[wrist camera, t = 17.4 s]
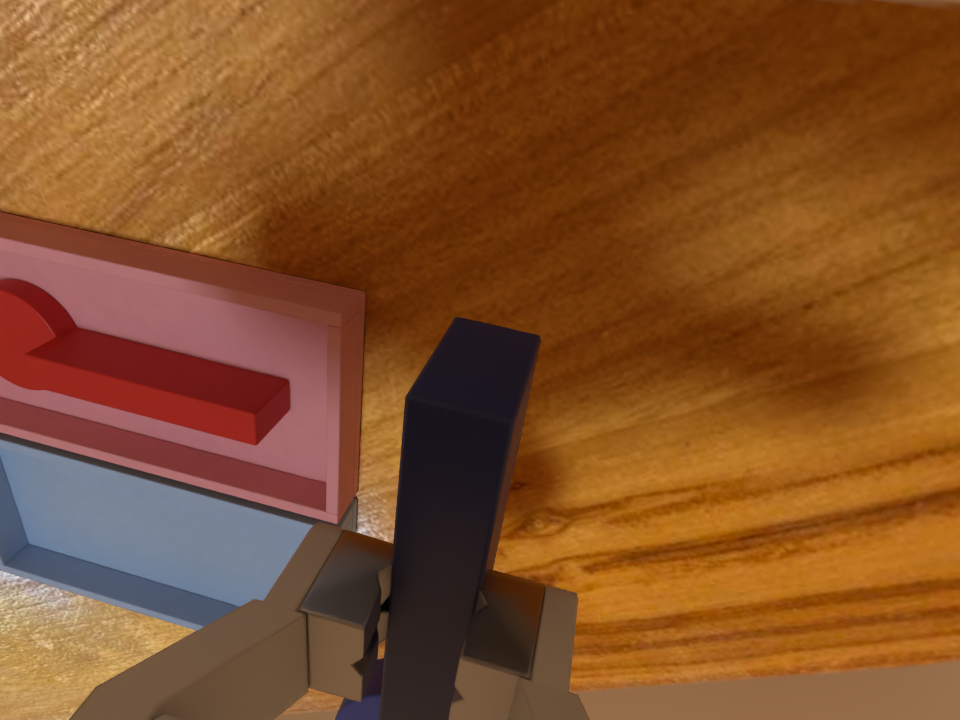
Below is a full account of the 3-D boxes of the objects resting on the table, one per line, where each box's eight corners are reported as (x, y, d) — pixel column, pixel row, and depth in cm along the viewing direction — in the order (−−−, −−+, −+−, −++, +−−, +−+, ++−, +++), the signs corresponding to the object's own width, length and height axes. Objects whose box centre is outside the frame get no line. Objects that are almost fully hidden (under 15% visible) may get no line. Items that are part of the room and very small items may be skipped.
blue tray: (-16, 399, 27) (-59, 423, 26) (357, 498, 25) (337, 532, 23) (31, 541, 32) (-4, 570, 30) (352, 636, 29) (334, 673, 28)
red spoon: (289, 344, 22) (252, 376, 19) (291, 442, 24) (258, 480, 22) (-28, 267, 23) (-93, 289, 21) (0, 365, 25) (-56, 394, 23)
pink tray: (-83, 193, 23) (-142, 206, 21) (366, 291, 20) (341, 314, 19) (-18, 392, 27) (-62, 416, 25) (358, 491, 25) (337, 525, 23)
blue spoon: (364, 293, 10) (290, 367, 8) (640, 355, 9) (641, 453, 7) (348, 733, 16) (307, 835, 14) (506, 785, 16) (486, 898, 14)
